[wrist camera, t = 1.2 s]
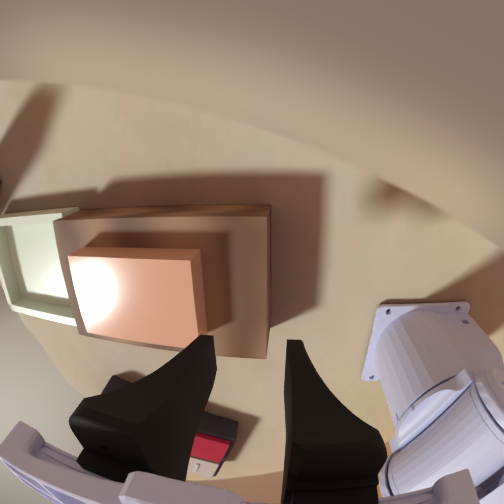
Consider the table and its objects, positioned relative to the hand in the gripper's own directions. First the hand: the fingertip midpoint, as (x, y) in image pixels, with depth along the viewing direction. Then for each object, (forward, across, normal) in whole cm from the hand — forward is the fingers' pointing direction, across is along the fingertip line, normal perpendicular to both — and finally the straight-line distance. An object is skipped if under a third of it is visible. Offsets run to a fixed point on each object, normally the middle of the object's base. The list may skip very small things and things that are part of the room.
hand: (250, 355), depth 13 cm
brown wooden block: (+10, +8, 0) cm, 13 cm away
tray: (+10, +22, 0) cm, 24 cm away
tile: (+6, +8, 0) cm, 10 cm away
